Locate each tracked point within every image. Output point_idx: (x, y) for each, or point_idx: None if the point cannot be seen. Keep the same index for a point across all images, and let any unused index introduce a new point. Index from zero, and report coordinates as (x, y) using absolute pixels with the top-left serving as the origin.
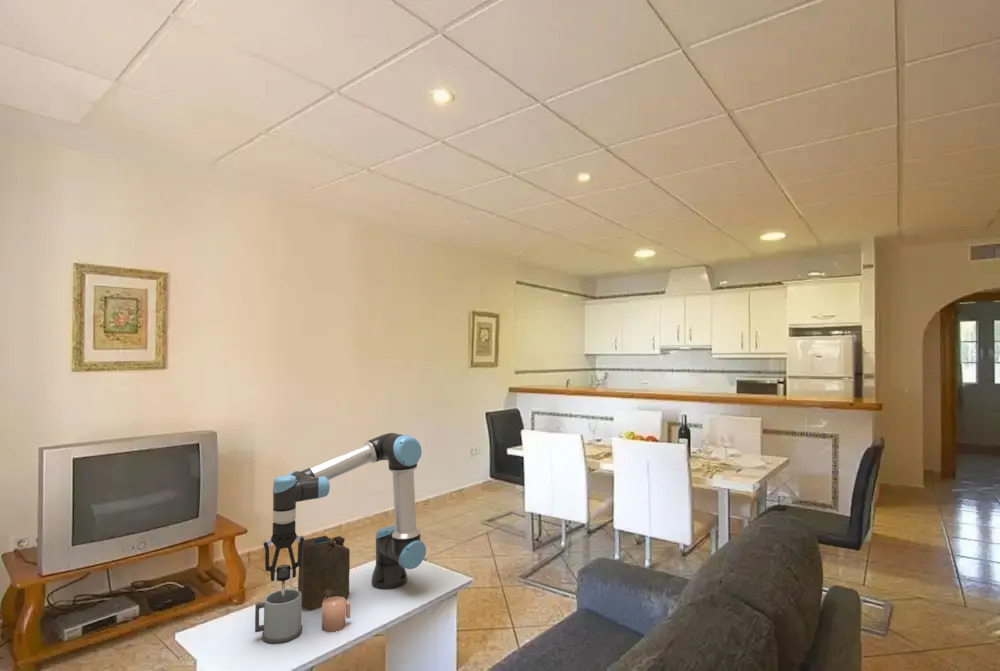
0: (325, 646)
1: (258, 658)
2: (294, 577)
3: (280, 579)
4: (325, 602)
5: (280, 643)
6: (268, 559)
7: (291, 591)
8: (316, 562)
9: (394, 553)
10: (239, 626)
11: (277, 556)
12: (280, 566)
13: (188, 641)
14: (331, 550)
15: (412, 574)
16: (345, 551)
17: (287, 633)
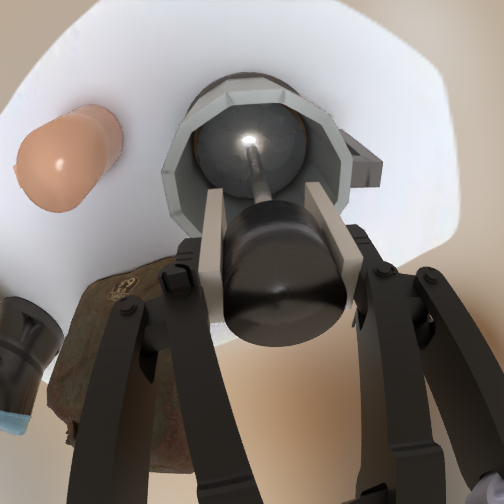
0: (109, 21)
1: (320, 13)
2: (189, 238)
3: (299, 209)
4: (77, 167)
5: (253, 72)
6: (467, 352)
7: None
8: None
9: None
10: (362, 227)
11: (394, 395)
12: (311, 324)
13: (458, 198)
14: (79, 412)
15: None
16: (51, 398)
17: (231, 79)
